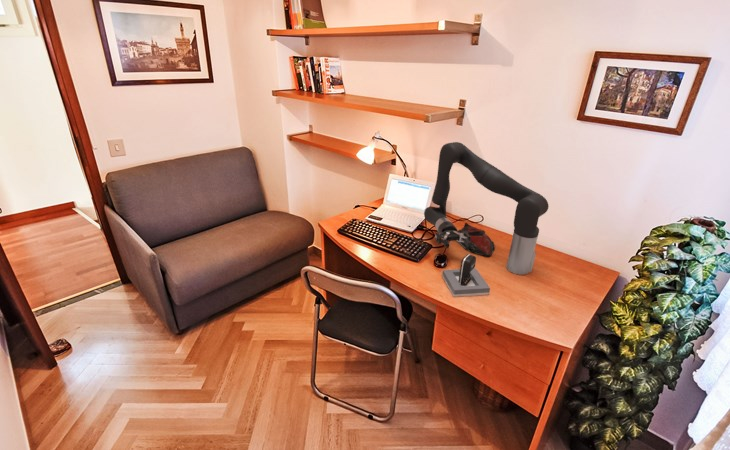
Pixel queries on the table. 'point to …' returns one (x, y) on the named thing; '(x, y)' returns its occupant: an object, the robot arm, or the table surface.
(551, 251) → the table surface
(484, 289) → the tray
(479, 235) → the drone shell
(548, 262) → the table surface
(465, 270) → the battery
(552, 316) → the table surface
